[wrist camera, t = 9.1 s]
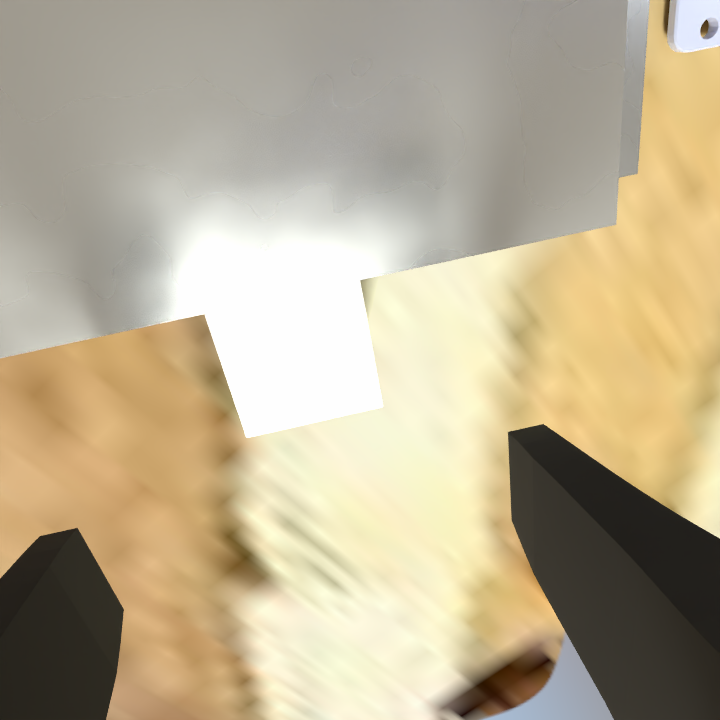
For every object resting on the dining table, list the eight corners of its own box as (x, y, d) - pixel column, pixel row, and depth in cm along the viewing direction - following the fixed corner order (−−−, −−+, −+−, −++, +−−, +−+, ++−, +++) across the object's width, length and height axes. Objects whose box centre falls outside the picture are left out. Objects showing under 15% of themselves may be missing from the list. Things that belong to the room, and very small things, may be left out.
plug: (191, -552, 11) (155, -839, 7) (367, 367, 21) (388, 434, 17) (-28, -518, 10) (-173, -793, 7) (257, 392, 20) (256, 464, 17)
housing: (643, -276, 13) (960, -542, 7) (619, 167, 18) (796, 230, 12) (-335, -96, 12) (-907, -225, 6) (-80, 316, 17) (-265, 464, 11)
